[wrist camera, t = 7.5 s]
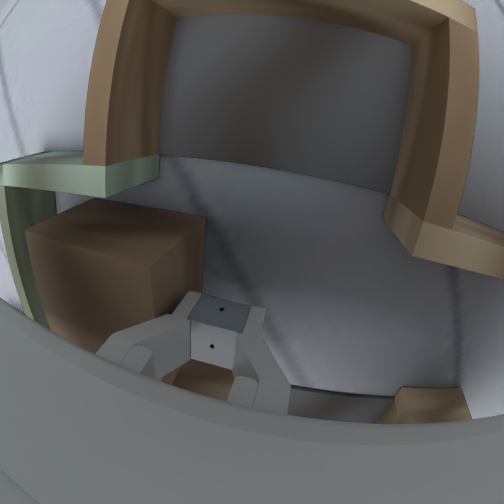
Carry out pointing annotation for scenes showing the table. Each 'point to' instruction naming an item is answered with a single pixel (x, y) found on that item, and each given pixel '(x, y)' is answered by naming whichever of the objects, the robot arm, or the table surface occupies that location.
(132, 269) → the block
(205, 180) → the table surface
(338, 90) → the box
